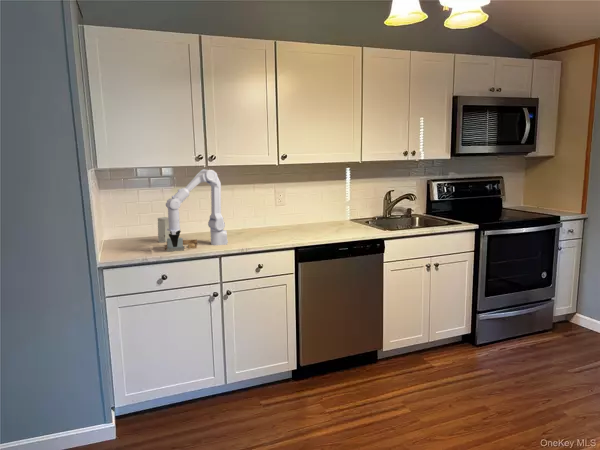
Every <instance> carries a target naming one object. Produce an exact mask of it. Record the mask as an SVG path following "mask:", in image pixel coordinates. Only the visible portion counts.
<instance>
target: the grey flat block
mask: <svg viewBox="0 0 600 450" xmlns="http://www.w3.org/2000/svg"><path fill="white" fill-rule="evenodd" d="M183 240H184V239H183V237H179V238H178V245H177V247H173V245H172V241H171V239H170V238H168V239H167V242H166V245H167V246H168V248H183V246H184V245H183Z"/></svg>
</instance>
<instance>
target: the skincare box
mask: <svg viewBox="0 0 600 450" xmlns="http://www.w3.org/2000/svg"><path fill="white" fill-rule="evenodd" d="M167 229H169V221H168V216H164V217H163V216H162V217H157V241H158V243H167V239H168V238H170V237H169V234H171V233H170V231H167Z"/></svg>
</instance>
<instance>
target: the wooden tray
mask: <svg viewBox="0 0 600 450" xmlns="http://www.w3.org/2000/svg"><path fill="white" fill-rule="evenodd" d="M192 243H194V244H195V245H194V246H195V247H194V249H197V247H198V239H183V246H187V245H188V244H192ZM167 247H168V246H167V244H166V245H165V247H164V251H167ZM184 248H185V249H184V250H188V249H191V248H188V247H184Z"/></svg>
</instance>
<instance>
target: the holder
mask: <svg viewBox="0 0 600 450" xmlns="http://www.w3.org/2000/svg"><path fill="white" fill-rule="evenodd" d="M185 248H186V247H185V245H183V248H168V247H167V250H166V252H170V253H171V252H182V251H184V252H185V250H186V249H185Z"/></svg>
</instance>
